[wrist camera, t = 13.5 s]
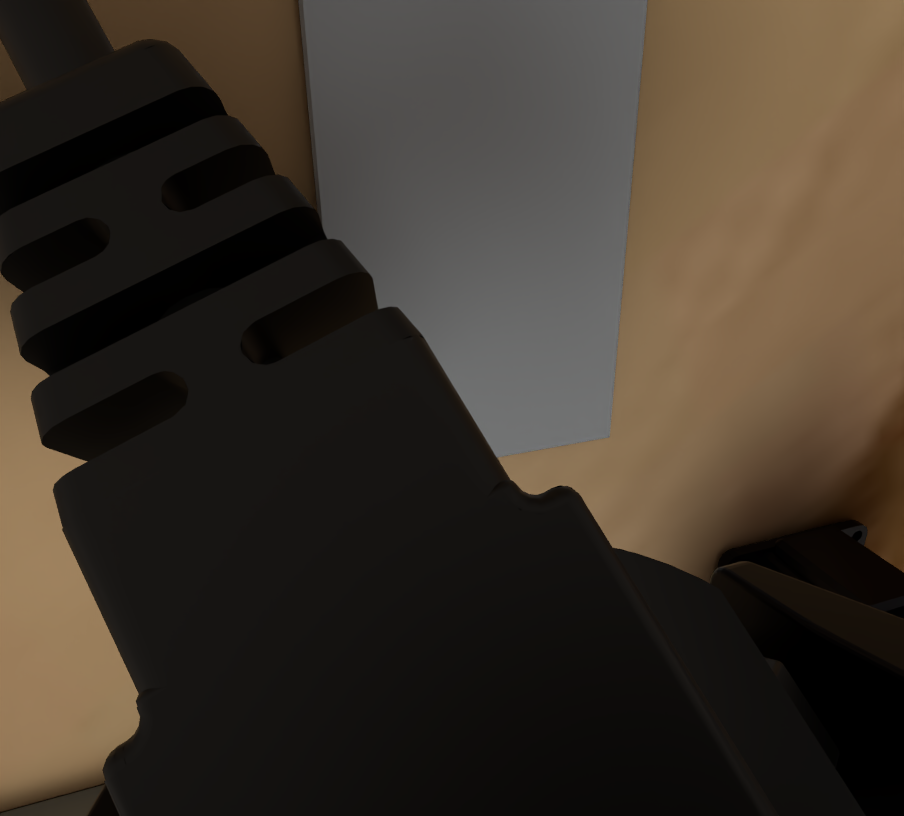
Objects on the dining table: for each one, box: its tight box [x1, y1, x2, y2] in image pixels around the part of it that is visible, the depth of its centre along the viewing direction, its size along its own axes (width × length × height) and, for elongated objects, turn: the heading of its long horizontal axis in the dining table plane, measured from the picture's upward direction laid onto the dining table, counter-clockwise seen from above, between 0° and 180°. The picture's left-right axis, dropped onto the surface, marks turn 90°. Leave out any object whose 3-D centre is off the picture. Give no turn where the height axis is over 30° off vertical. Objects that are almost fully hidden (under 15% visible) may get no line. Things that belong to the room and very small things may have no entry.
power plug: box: [0, 0, 866, 816], centre depth 7 cm, size 6×8×12 cm
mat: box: [298, 0, 647, 457], centre depth 18 cm, size 14×8×1 cm, turn 1°
